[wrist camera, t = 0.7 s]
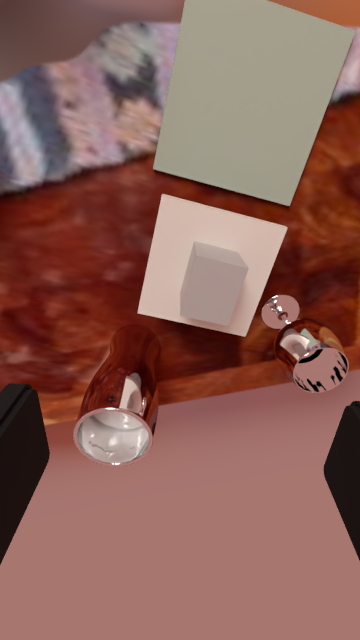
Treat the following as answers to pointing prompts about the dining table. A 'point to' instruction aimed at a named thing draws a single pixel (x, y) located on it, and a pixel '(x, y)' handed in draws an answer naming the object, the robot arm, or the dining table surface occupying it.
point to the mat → (248, 95)
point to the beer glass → (121, 401)
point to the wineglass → (305, 347)
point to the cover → (208, 265)
